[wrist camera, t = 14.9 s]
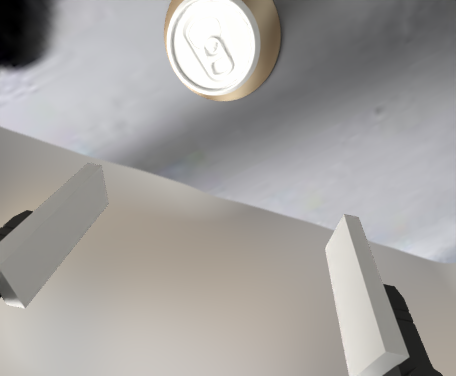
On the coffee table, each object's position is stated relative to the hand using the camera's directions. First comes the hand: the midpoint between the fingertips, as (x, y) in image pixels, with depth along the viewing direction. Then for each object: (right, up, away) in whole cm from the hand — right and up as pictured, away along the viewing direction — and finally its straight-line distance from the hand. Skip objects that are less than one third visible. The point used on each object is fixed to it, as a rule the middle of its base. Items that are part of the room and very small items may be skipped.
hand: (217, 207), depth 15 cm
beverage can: (0, +19, +17) cm, 26 cm away
